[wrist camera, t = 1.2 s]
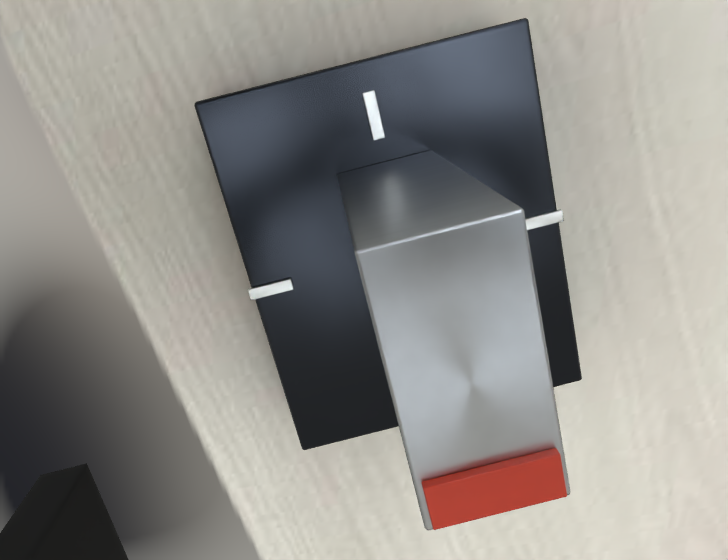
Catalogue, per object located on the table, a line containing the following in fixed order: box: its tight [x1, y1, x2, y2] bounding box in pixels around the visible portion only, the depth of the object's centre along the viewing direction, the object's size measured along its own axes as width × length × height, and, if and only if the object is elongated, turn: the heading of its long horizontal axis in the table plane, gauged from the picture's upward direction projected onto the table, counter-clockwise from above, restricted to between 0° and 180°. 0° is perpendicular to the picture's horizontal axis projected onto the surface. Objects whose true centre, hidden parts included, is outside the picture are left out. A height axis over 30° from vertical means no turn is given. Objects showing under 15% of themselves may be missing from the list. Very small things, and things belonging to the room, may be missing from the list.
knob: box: [337, 150, 570, 530], centre depth 16 cm, size 6×3×9 cm, turn 14°
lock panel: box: [195, 18, 582, 450], centre depth 22 cm, size 12×10×3 cm
